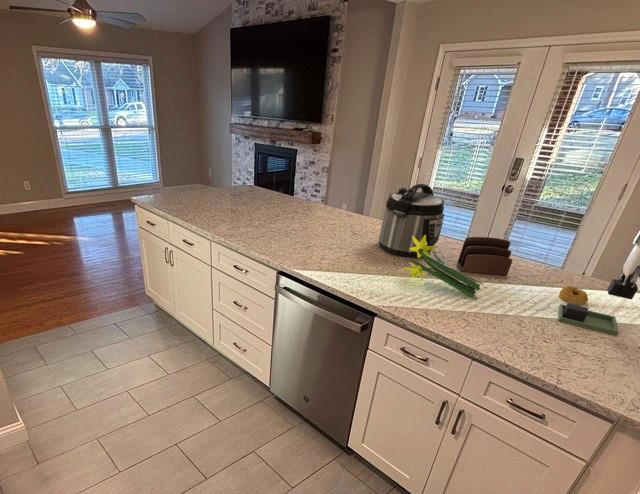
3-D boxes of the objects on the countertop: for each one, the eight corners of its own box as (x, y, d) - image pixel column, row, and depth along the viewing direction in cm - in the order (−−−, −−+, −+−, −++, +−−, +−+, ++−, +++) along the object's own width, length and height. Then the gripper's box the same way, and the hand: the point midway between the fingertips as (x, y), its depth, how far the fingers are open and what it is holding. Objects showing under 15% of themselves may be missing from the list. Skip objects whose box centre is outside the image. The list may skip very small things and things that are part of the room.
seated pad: (582, 317, 155) (587, 307, 152) (583, 322, 151) (588, 312, 149) (562, 312, 157) (567, 302, 155) (562, 317, 154) (567, 307, 152)
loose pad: (629, 294, 141) (636, 283, 139) (631, 299, 138) (638, 288, 135) (607, 289, 144) (612, 278, 142) (608, 294, 140) (614, 283, 138)
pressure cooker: (390, 260, 198) (406, 191, 180) (365, 241, 221) (377, 178, 203) (446, 258, 203) (466, 191, 186) (416, 239, 226) (432, 178, 209)
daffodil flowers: (466, 306, 161) (389, 262, 173) (463, 311, 175) (392, 269, 186) (494, 269, 158) (414, 226, 169) (488, 277, 172) (415, 236, 183)
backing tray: (612, 321, 154) (615, 316, 153) (615, 337, 144) (618, 331, 143) (557, 308, 161) (560, 303, 160) (557, 322, 152) (560, 317, 150)
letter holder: (456, 263, 198) (466, 234, 190) (500, 268, 196) (511, 238, 188) (461, 271, 190) (471, 241, 182) (507, 276, 187) (519, 245, 180)
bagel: (560, 303, 165) (566, 292, 162) (555, 293, 174) (560, 282, 171) (589, 308, 162) (595, 297, 160) (582, 297, 171) (587, 287, 168)
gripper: (670, 251, 123) (636, 306, 133) (660, 237, 135) (629, 288, 145) (639, 246, 126) (608, 299, 136) (631, 232, 138) (604, 282, 148)
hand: (619, 293), depth 141 cm, fingers closed on loose pad, 5 cm apart
